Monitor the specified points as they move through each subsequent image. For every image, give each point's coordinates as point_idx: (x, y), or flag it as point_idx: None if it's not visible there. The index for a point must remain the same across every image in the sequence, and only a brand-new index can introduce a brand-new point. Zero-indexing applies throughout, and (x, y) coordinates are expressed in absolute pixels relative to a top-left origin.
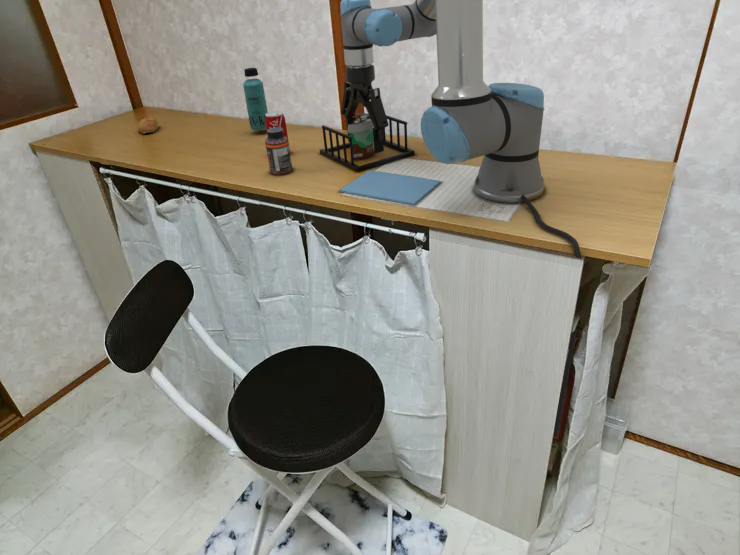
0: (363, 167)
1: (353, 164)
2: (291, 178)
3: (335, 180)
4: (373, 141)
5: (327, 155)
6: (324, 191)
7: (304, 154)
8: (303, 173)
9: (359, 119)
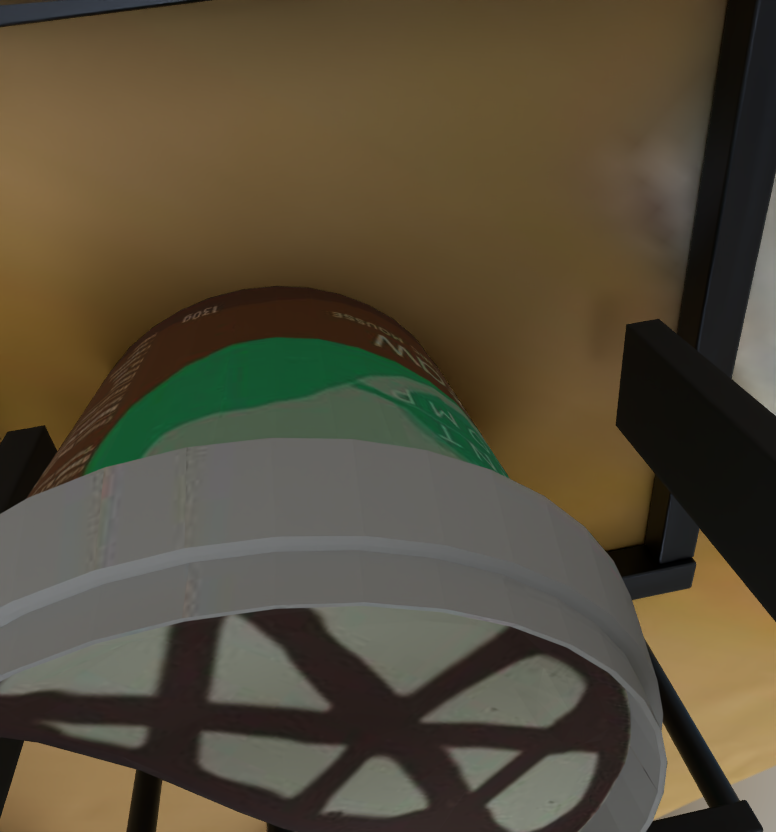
0: (694, 536)
1: None
2: None
3: None
4: (685, 510)
5: None
6: (739, 737)
7: (29, 759)
8: None
9: (234, 736)
